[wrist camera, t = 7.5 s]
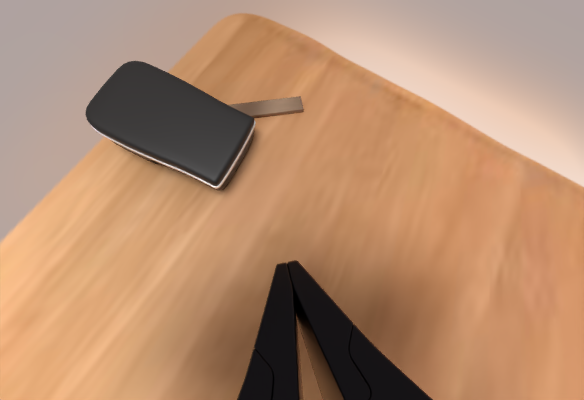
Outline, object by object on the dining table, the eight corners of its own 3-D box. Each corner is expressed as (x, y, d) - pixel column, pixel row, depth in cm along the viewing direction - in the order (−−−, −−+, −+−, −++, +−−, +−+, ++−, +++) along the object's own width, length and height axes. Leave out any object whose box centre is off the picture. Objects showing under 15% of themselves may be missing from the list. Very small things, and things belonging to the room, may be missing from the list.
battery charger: (258, 137, 22) (150, 84, 21) (259, 115, 18) (128, 49, 18) (223, 199, 20) (104, 143, 20) (217, 189, 16) (69, 118, 16)
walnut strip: (300, 99, 23) (300, 96, 22) (303, 111, 22) (303, 109, 22) (198, 111, 21) (197, 108, 21) (200, 125, 21) (199, 122, 21)
